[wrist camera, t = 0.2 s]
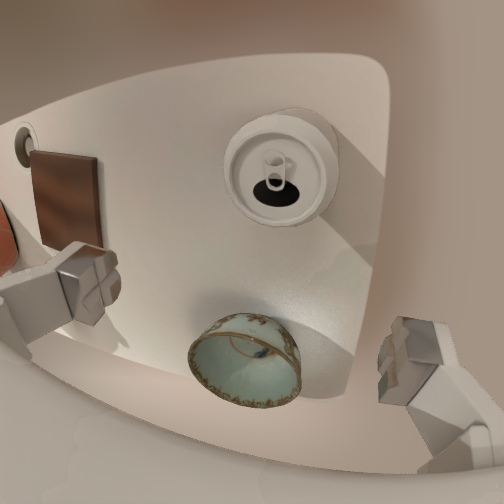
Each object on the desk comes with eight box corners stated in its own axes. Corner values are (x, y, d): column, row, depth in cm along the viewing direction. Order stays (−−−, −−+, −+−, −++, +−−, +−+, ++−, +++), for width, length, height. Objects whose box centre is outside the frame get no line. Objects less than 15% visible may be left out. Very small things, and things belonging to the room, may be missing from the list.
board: (34, 150, 36) (29, 151, 35) (96, 157, 34) (91, 159, 33) (46, 241, 44) (42, 244, 44) (105, 264, 42) (101, 267, 41)
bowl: (320, 302, 36) (313, 352, 29) (301, 372, 42) (291, 418, 36) (209, 279, 38) (182, 320, 31) (211, 351, 45) (191, 391, 38)
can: (260, 181, 31) (217, 232, 20) (259, 106, 27) (209, 117, 17) (336, 187, 29) (333, 244, 19) (340, 110, 25) (342, 119, 15)
